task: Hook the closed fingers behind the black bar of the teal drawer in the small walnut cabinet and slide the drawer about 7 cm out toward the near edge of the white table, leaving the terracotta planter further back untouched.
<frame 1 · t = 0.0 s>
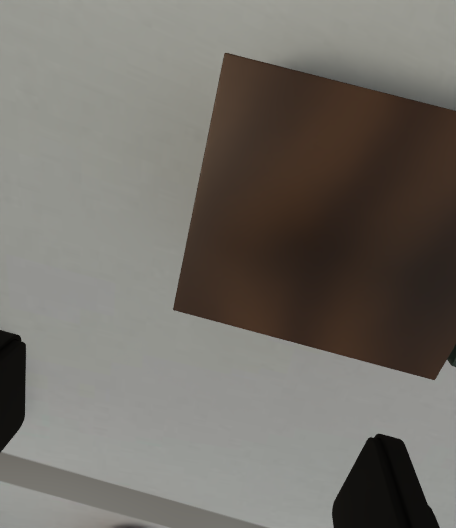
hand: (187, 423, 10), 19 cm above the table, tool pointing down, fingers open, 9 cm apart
drawer: (443, 244, 21), point 4 cm above the table, slide at 1.0 cm
cabinet: (323, 198, 26), on the table
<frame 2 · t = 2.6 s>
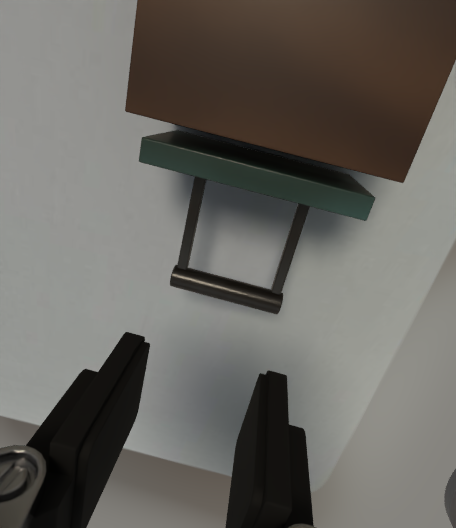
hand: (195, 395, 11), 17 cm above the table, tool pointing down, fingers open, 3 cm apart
drawer: (269, 126, 20), point 4 cm above the table, slide at 1.0 cm
cabinet: (302, 3, 21), on the table
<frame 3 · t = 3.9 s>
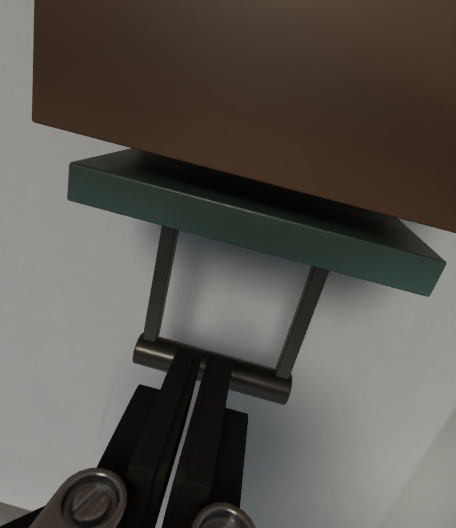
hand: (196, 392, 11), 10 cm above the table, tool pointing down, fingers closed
drawer: (273, 143, 13), point 4 cm above the table, slide at 1.0 cm
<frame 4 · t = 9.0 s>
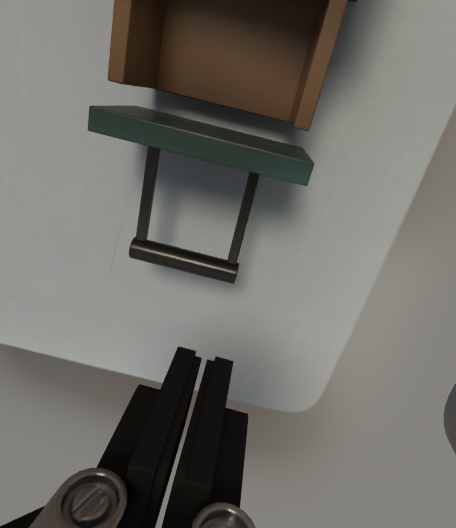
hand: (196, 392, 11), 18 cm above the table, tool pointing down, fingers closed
drawer: (218, 98, 21), point 4 cm above the table, slide at 8.5 cm
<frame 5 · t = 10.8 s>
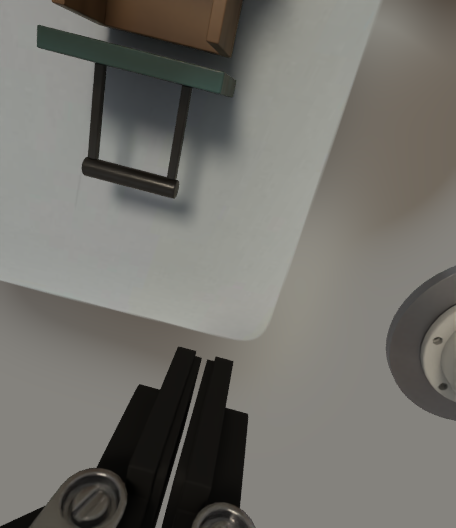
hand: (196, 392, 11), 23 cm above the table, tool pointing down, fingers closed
drawer: (152, 26, 24), point 4 cm above the table, slide at 8.5 cm
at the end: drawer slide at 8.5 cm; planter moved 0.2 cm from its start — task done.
